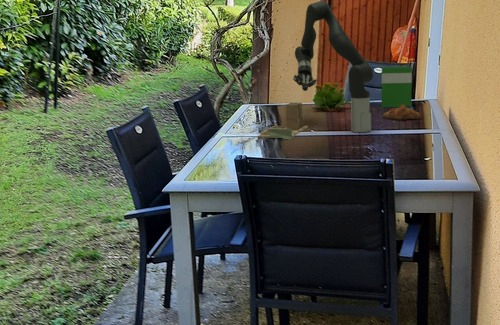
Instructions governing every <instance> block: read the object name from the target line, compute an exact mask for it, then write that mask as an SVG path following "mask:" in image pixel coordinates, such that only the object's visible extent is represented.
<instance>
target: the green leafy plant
mask: <svg viewBox="0 0 500 325" xmlns="http://www.w3.org/2000/svg"><path fill="white" fill-rule="evenodd" d="M339 86H340V84H339V83H338V82H332V83H330V82H329V81H328V82H324V83H323V84H322V85H320V84H316V85H315V88H316V89H315V94H314V95H313V99H312V102H313V103H314V105H315V106H316V107H320V108H323V109H324V111H327V112H336V111H340V110H341V107H340V106H345V105H348V104H351V100H345V94H344V93H343V92H344V91H345V86H343V87H341V88H340V89H339ZM338 89H339V91H338ZM337 91H338V92H337Z"/></svg>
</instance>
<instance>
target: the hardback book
mask: <svg viewBox="0 0 500 325" xmlns="http://www.w3.org/2000/svg"><path fill="white" fill-rule="evenodd" d="M412 69H413V68H412V66H391V67H390V66H388V67H387V66H386V67H385V66H383V67H381V108H382V107H397V108H399V107H400V106H401V105H406V106H411V107H412V88H413V87H412V86H413V85H412V83H413V82H412V80H413V78H412V76H413V72H412V71H413V70H412Z"/></svg>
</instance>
